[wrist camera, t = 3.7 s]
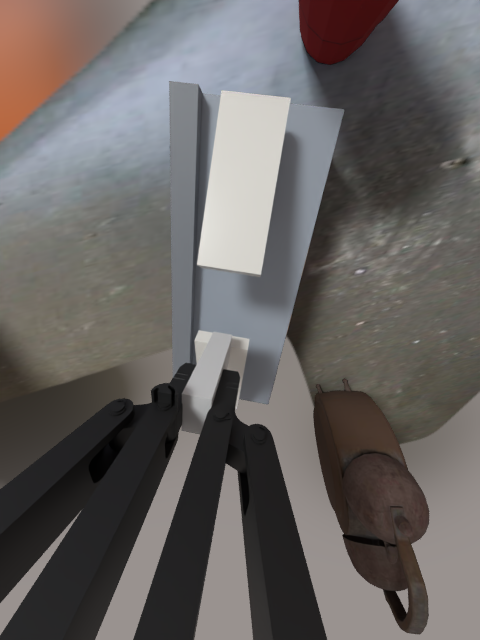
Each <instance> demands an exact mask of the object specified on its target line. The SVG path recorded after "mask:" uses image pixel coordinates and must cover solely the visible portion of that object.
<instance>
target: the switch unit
mask: <svg viewBox="0 0 480 640" xmlns="http://www.w3.org/2000/svg"><path fill="white" fill-rule="evenodd" d="M169 96H170V178H171V261H172V344H173V377H174V375H175V374H176V372H177V371H178V369H179V367H180V366H182V365H183V364H185V363H191V364H196V365H197V362H196V352H195V341H194V340H195V338H196V336H197V333H198V331H199V330H201V331H206V332H212V333H213V332H219V333H225V334H231V335H232V336H236V337H242V338H247V339H249V346H248V352H247V357H246V363H245V368H244V374H243V379H242V385H241V390H240V396H239V399H242V400H247V401H253V402H258V403H263V404H268V403H269V399H270V395H271V392H272V388H273V385H274V381H275V377H276V372H277V369H278V365H279V361H280V356H281V353H282V349H283V345H284V341H285V339H286V335H287V331H288V327H289V323H290V319H291V316H292V311H293V307H294V303H295V299H296V295H297V291H298V287H299V284H300V280H301V277H302V273H303V269H304V265H305V262H306V258H307V254H308V250H309V245H310V241H311V237H312V233H313V229H314V226H315V222H316V218H317V214H318V210H319V206H320V202H321V199H322V195H323V191H324V187H325V183H326V181H327V177H328V173H329V169H330V165H331V161H332V158H333V154H334V150H335V146H336V142H337V138H338V133H339V129H340V125H341V121H342V117H343V113H344V110H345V109H336V108H327V107H319V106H310V105H301V104H292V103H290V105H289V111H288V117H287V123H286V129H285V135H284V141H283V147H282V153H281V159H280V164H279V170H278V176H277V182H276V188H275V194H274V200H273V206H272V212H271V218H270V224H269V230H268V236H267V242H266V248H265V254H264V260H263V266H262V271H261V276H260V277H256V276H249V275H243V274H237V273H230V272H224V271H217V270H211V269H204V268H201V267H199V266H198V265H197V260H198V253H199V246H200V239H201V232H202V225H203V218H204V211H205V204H206V197H207V189H208V182H209V175H210V168H211V161H212V154H213V147H214V140H215V133H216V126H217V119H218V112H219V105H220V97H221V95H212V94H203V93H202V91H201V89H200V87H199V85H198V84H190V83H181V82H172V81H169Z"/></svg>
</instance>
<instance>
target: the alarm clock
mask: <svg viewBox="0 0 480 640" xmlns="http://www.w3.org/2000/svg"><path fill="white" fill-rule="evenodd" d="M347 382H348V381H347V379H343V383H344V386H345V391H330V392H324V393H322V391H321V389H320V385H319V384H317V385H316V388H317V389H318V393H316V395H315V408H314V428H315V436H316V442H317V448H318V454H319V459H320V464H321V469H322V474H323V477H324V482H325V486H326V490H327V493H328V497H329V500H330V503H331V505H332V507H333V509H334V511H335V513H336V516H337V519H338V522H339V524H340V527H341V529H342V531H343V533H344V534H343V539H344V543H345V546H346V549H347V552H348V555H349V557H350V559H351V561H352V564H353V566H354V567H355V569H356V571H357V572H358V573H359V574H360V575H361V576H362V577H363V578H364V579H365V580H366V581H368V582H369V583H370V584H372V585H374V586H376V587H378V588H381V589H383V591H384V595H385V598H386V601H387V602H388V604H389V605H390V608H391V610H392V613H393V615H394V617H395V620H396V622H397V623H398V625H399V627H400V628H401V629H402V630H403V631H405V632H407V633H412V634H421V633H422V632H423V630H424V628H425V627H426V625H427V620H428V616H429V614H428V596H427V592H426V587H425V583H424V580H423V578H422V575H421V571H420V568H419V565H418V562H417V559H416V556H415V553H414V551H413V548H412V545H411V544H412V543H414V542H416V541H417V540H419V539H420V538H421V537H422V536H423V535H424V534H425V532H426V530H427V527H428V524H429V508H428V505H427V502H426V498H425V496H424V494H423V492H422V490H421V488H420V487H419V485H418V483H417V482H416V480H415V479H414V477H413V476H412V475H411V473H410V472H409V471H408V468H407V465H406V462H405V459H404V456H403V453H402V451H401V448H400V446H399V443H398V441H397V438H396V436H395V434H394V432H393V430H392V428H391V426H390V424H389V422H388V421H387V419H386V417H385V416H384V414H383V413H382V411H381V410H380V408H379V407H378V406H377V405H376V403H375V402H374V401H373V400H372V399H371V398H370V397H369V396H368V395H367V394H366V393H364V392H359V391H351V390H350V388H349V385H348V383H347ZM407 588H408V599H409V608H408V612H407V613H406V611H405V609H404V607H403V605H402V603H401V601H400V599H399V597H398V595H397V593H396V591H401V590H405V589H407Z"/></svg>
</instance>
